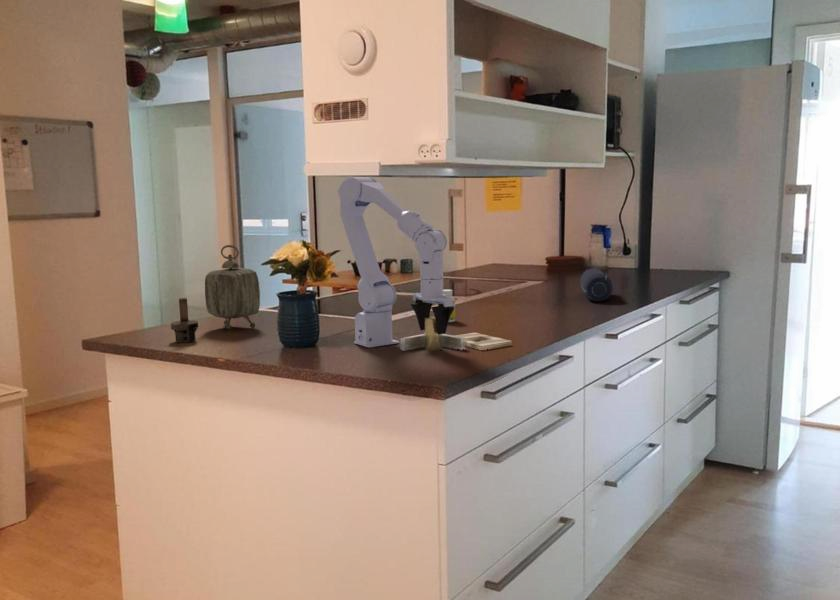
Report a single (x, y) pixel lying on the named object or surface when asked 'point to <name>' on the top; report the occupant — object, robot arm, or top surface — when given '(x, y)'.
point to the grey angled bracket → (419, 342)
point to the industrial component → (184, 324)
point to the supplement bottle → (449, 295)
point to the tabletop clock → (232, 291)
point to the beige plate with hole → (484, 341)
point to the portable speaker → (596, 285)
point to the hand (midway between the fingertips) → (432, 331)
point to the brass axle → (431, 335)
